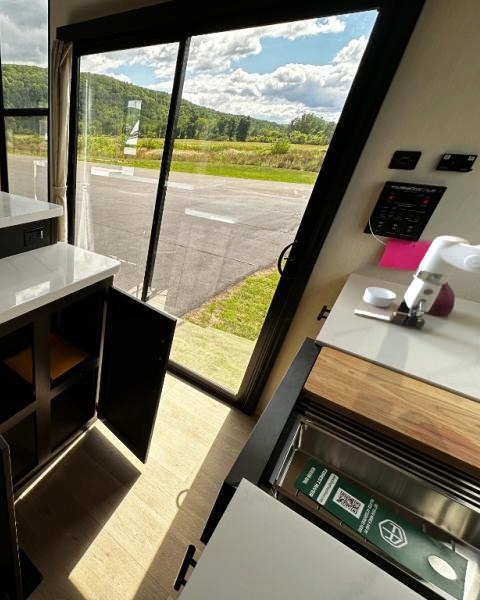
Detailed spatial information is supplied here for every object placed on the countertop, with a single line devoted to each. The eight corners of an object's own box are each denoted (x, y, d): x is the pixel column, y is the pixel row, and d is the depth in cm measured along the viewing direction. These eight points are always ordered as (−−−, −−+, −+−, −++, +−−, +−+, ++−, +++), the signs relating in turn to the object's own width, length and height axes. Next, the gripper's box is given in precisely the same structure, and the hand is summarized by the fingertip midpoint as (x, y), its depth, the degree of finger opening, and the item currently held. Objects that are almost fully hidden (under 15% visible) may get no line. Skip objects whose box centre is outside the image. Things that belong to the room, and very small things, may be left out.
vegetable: (418, 321, 117) (431, 289, 108) (403, 303, 124) (414, 272, 116) (457, 319, 113) (473, 285, 104) (439, 301, 121) (453, 268, 112)
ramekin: (368, 307, 120) (373, 297, 118) (356, 295, 127) (361, 285, 125) (396, 309, 118) (401, 299, 116) (382, 297, 126) (387, 287, 123)
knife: (418, 325, 110) (423, 318, 108) (420, 329, 108) (425, 322, 106) (354, 310, 118) (357, 304, 117) (354, 314, 116) (358, 307, 115)
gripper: (455, 289, 93) (424, 335, 102) (441, 267, 105) (414, 310, 114) (421, 283, 97) (393, 328, 106) (411, 262, 109) (387, 304, 118)
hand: (404, 318), depth 110 cm, fingers open, 9 cm apart
